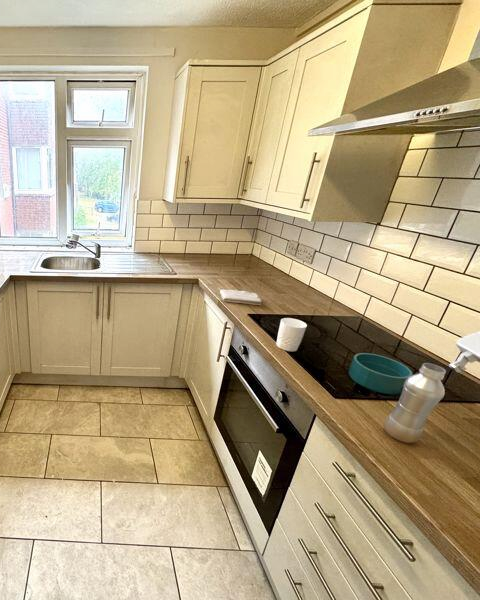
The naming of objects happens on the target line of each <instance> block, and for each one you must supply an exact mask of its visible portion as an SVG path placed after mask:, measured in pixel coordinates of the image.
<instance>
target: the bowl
mask: <svg viewBox="0 0 480 600" xmlns="http://www.w3.org/2000/svg"><path fill="white" fill-rule="evenodd" d="M347 373H348V376H349V377H350V378H351V379H352V380H353V382H355V383H357V384H359V385H360V386H362V387H364V388H366V389H368V390H371V391H373V392H377V393H380V394H385V395H401V394H402V390H403V386H404V382H405V380H406V379H407V378H408V377H410V376H412V375H414V374H413V371H412V370H411V369H410V368H409V367H408V366H406V365H405V364H403V363H401V362H399V361H397V360H395V359H393V358H390V357H387V356H384V355H380V354H375V353H369V352H360V353H356V354H355V355H354V356H353V358H352V360H351V363H350V364H349V368H348V372H347Z"/></svg>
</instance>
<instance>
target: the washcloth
mask: <svg viewBox="0 0 480 600" xmlns="http://www.w3.org/2000/svg"><path fill="white" fill-rule="evenodd" d="M219 294H220V296H221V299H222V301H223V302H226V303H232V304H233V303H235V304H245V305H251V306H261V305H262V302H263V300H262V299H261V298H260V296H259V294H257V293H256V292H249V291H246V290H236V289H220V290H219Z"/></svg>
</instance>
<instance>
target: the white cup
mask: <svg viewBox="0 0 480 600" xmlns="http://www.w3.org/2000/svg"><path fill="white" fill-rule="evenodd" d="M307 327H308V325H307V323H306V322H304V321H302V320H300V319H297V318H292V317H284V318H281V319H280V322H279V327H278V332H277V338H276V342H275V346H276V347H277V348H278V349H281V350H283V351H287V352H297V351H298V350H299V347H300V345H301V343H302V340H303V338H304V335H305V332H306V330H307Z"/></svg>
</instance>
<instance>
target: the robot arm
mask: <svg viewBox="0 0 480 600" xmlns="http://www.w3.org/2000/svg"><path fill="white" fill-rule="evenodd" d="M455 345H456V347H457V348H458V350H459V351H460V352H461V353H460V354H459V356H458V357H457V359H456V360H455V361H453V362H451V363H449V364H448V367H449V368H450V370H452V371H454V372H456V373H458V374H459V373H461V372H465V371H466V370H467V368H466V367H465V366H467V364H468V363H470V364H473V363H475V362H478V363H480V330H479V331H476V332H473V333H470V334H467V335H465V336H462V337H460V338H458V339H457V340H456V341H455Z"/></svg>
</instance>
